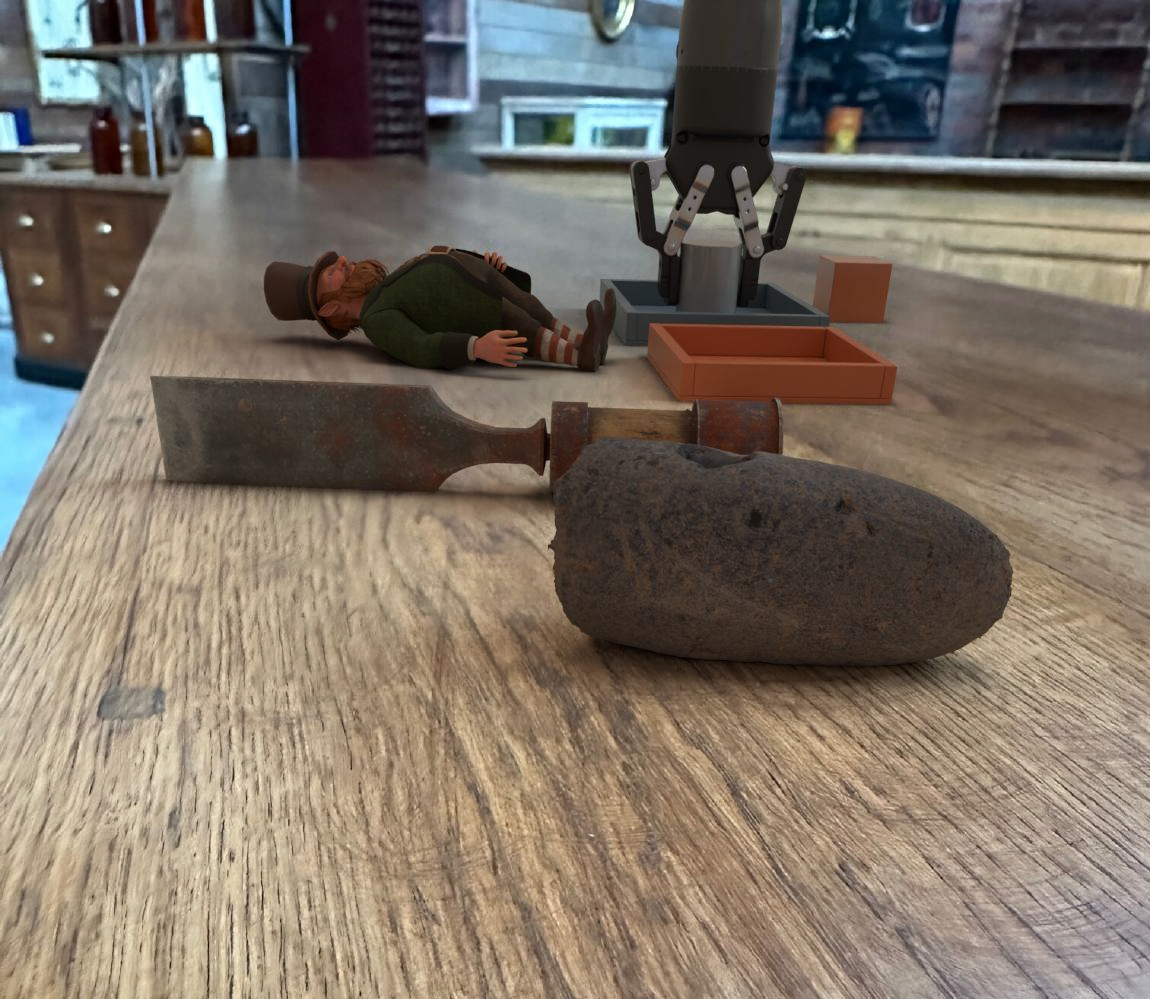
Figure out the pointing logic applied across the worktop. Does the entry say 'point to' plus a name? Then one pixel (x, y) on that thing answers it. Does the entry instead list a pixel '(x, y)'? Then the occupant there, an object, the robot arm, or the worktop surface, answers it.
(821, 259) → the clay block
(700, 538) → the perforated stone tool
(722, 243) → the stone cylinder
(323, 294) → the leprechaun
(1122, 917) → the worktop surface
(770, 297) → the slate tray
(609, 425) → the chisel
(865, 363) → the terracotta tray
